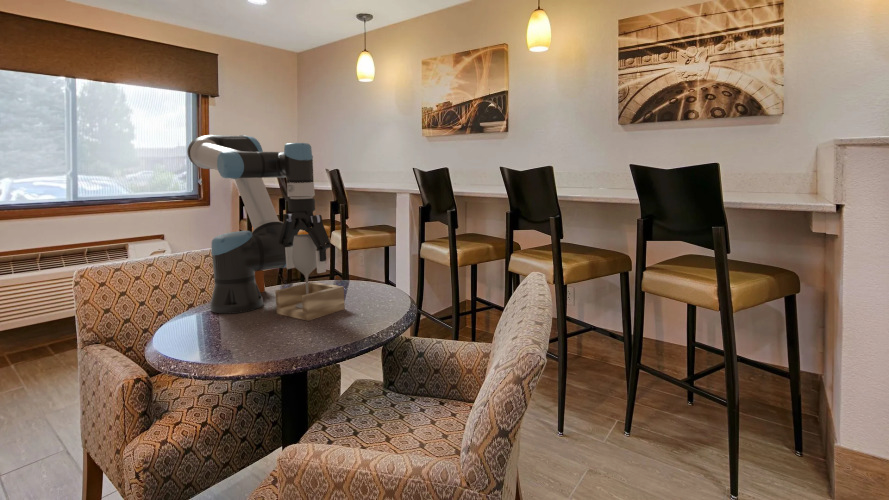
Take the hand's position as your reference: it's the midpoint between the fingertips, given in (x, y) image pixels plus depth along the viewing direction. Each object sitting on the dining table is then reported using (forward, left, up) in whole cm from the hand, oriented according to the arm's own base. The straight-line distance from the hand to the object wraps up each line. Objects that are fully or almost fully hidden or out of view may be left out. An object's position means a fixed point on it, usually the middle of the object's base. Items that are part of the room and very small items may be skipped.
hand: (305, 270), depth 147 cm
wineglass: (0, 0, -11) cm, 11 cm away
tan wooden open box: (0, +1, -13) cm, 13 cm away
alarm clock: (-37, +3, -13) cm, 39 cm away
